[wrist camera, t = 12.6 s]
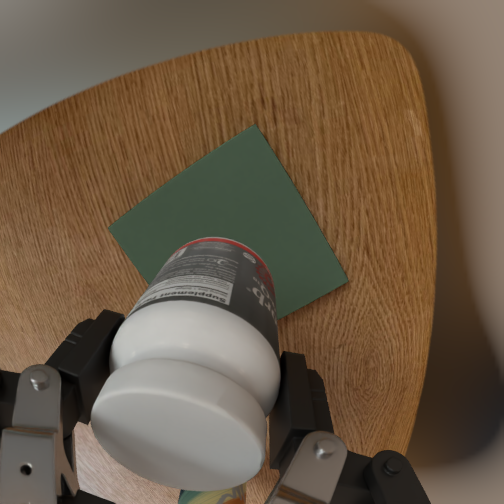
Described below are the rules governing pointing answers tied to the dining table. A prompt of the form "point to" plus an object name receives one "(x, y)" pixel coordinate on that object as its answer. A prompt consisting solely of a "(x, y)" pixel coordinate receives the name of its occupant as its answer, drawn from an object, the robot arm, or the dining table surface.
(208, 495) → the lotion bottle
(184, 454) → the pill bottle
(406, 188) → the dining table surface
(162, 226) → the mat
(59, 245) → the dining table surface
